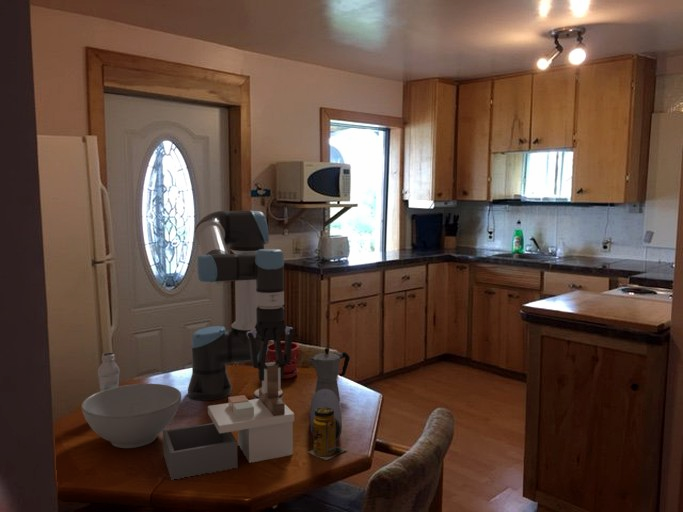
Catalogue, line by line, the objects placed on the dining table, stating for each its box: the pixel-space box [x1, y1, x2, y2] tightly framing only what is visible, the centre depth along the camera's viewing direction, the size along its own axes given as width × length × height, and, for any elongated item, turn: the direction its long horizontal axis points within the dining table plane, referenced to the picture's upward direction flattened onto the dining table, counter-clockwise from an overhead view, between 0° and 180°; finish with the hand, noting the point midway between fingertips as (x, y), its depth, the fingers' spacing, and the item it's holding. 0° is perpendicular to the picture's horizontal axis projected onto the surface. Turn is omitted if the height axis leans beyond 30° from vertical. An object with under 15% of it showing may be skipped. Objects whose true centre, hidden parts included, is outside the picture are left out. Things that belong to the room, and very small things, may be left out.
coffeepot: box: [308, 347, 351, 402], centre depth 197 cm, size 15×9×18 cm, turn 118°
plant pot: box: [265, 341, 300, 380], centre depth 223 cm, size 13×13×12 cm
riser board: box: [207, 398, 295, 464], centre depth 156 cm, size 15×20×12 cm
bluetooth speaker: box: [309, 389, 343, 442], centre depth 169 cm, size 23×9×10 cm, turn 3°
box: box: [162, 422, 239, 481], centre depth 151 cm, size 15×16×7 cm
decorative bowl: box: [81, 383, 182, 449], centre depth 164 cm, size 27×27×12 cm
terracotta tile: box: [227, 394, 249, 412], centre depth 157 cm, size 4×4×2 cm
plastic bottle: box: [97, 352, 120, 391], centre depth 182 cm, size 6×7×20 cm
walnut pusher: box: [258, 362, 286, 416], centre depth 157 cm, size 14×3×12 cm, turn 24°
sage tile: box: [233, 401, 254, 419], centre depth 152 cm, size 4×4×2 cm
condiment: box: [307, 407, 348, 461], centre depth 156 cm, size 7×8×12 cm
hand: (271, 390), depth 157 cm, fingers closed on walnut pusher, 3 cm apart
